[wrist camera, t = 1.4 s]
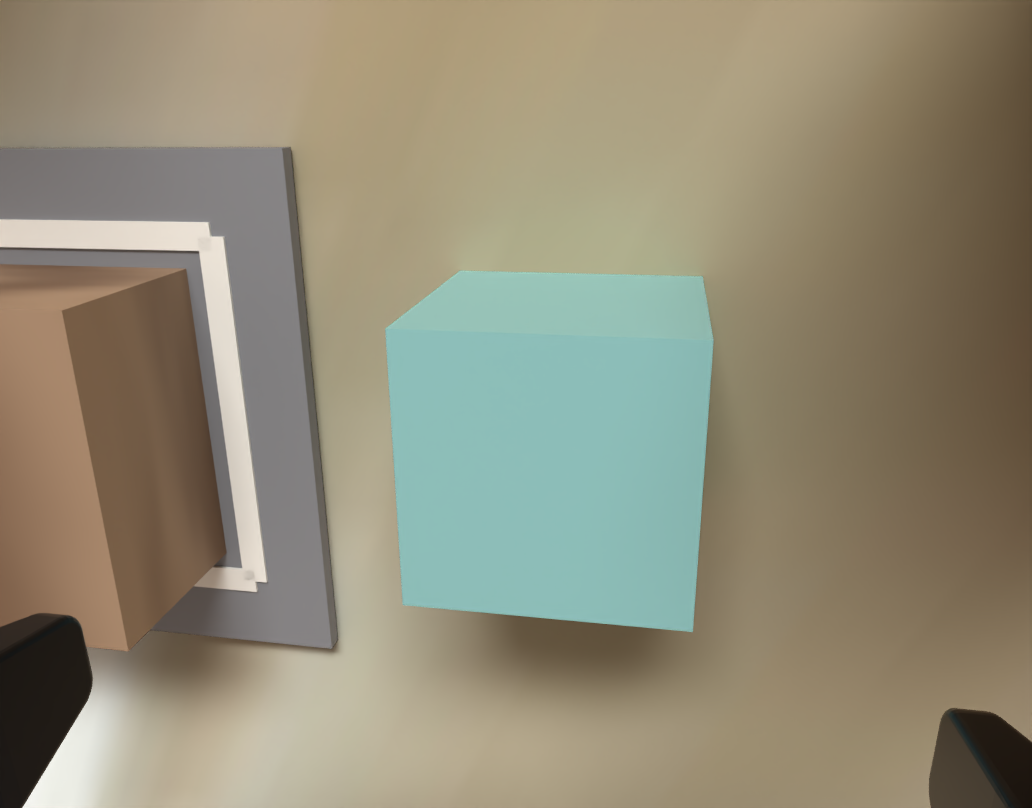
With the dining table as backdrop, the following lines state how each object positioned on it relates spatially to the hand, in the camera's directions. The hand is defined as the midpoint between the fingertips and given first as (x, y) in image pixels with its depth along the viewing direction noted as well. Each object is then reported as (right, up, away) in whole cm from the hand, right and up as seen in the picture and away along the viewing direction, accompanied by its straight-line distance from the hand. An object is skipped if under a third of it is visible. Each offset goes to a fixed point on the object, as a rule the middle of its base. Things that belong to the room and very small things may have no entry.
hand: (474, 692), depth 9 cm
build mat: (-10, +3, +12) cm, 16 cm away
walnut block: (-10, +3, +11) cm, 16 cm away
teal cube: (+2, +3, +10) cm, 10 cm away
